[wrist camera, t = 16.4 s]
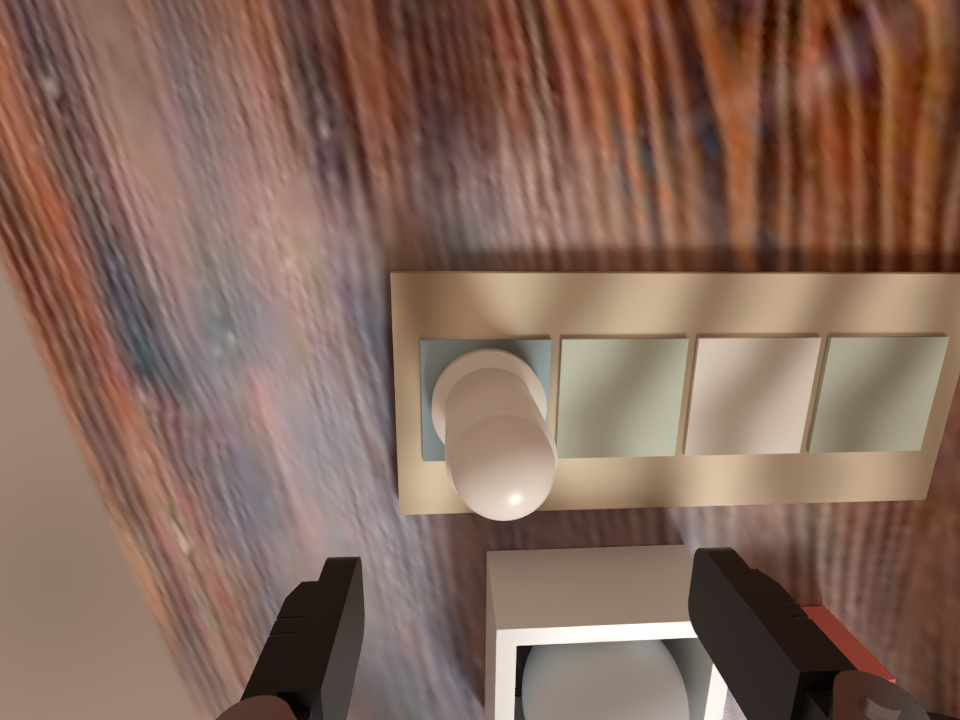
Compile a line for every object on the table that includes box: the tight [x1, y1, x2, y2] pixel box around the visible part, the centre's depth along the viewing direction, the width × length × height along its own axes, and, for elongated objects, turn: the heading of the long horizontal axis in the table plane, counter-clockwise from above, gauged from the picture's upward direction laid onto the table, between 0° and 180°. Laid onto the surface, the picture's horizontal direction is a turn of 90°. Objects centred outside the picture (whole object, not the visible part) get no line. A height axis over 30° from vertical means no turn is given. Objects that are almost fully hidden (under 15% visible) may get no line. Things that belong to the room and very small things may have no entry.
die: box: [801, 606, 896, 684], centre depth 28 cm, size 5×5×5 cm
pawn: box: [431, 348, 558, 521], centre depth 20 cm, size 5×5×8 cm
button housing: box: [485, 545, 728, 720], centre depth 27 cm, size 11×11×6 cm
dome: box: [522, 639, 689, 720], centre depth 25 cm, size 8×8×8 cm
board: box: [390, 271, 960, 515], centre depth 25 cm, size 28×12×1 cm, turn 90°
